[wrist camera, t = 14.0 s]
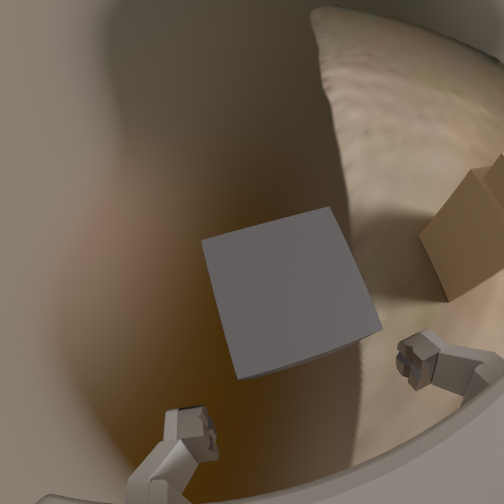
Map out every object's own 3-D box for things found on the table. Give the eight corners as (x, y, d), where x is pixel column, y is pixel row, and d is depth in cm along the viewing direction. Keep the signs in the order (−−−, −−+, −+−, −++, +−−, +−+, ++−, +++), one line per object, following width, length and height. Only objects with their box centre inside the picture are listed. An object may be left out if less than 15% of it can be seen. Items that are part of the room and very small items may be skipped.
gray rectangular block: (338, 350, 18) (382, 328, 11) (248, 379, 18) (237, 379, 10) (308, 268, 21) (329, 206, 14) (223, 292, 20) (201, 240, 13)
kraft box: (490, 278, 20) (570, 215, 9) (448, 302, 19) (545, 235, 9) (461, 220, 22) (525, 142, 12) (418, 235, 22) (488, 143, 11)
